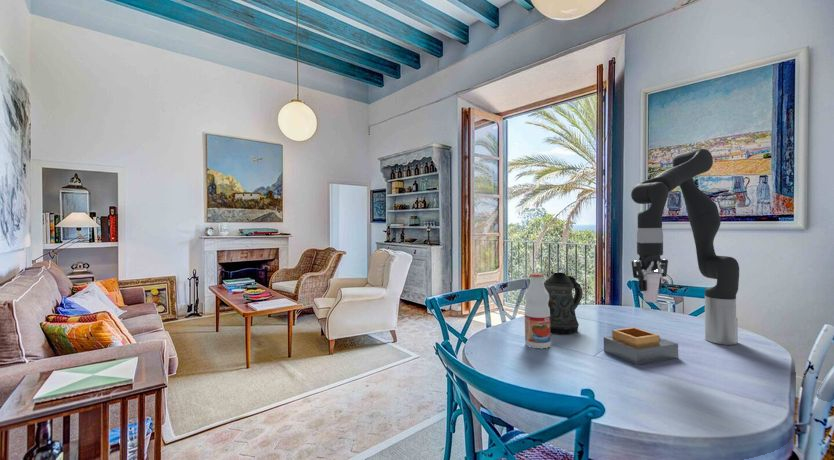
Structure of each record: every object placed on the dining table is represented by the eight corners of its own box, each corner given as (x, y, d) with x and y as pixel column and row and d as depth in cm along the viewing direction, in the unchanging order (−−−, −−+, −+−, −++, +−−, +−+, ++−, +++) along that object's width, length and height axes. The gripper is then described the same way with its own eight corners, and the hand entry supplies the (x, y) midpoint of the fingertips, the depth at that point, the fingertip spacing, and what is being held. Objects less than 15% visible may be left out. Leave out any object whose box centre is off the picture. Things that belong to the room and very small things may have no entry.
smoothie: (665, 303, 117) (664, 261, 116) (644, 303, 118) (643, 261, 118) (656, 299, 123) (655, 259, 123) (636, 299, 124) (635, 259, 124)
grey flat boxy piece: (648, 343, 135) (647, 323, 135) (684, 356, 121) (684, 334, 121) (603, 350, 129) (603, 329, 129) (637, 365, 116) (636, 340, 116)
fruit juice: (538, 339, 142) (537, 271, 142) (556, 347, 134) (554, 274, 133) (520, 343, 139) (518, 273, 138) (536, 351, 130) (535, 276, 130)
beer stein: (531, 329, 156) (530, 273, 156) (552, 320, 169) (551, 269, 169) (568, 337, 144) (567, 277, 144) (587, 327, 157) (586, 272, 157)
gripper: (655, 240, 126) (655, 286, 126) (624, 241, 122) (624, 289, 122) (676, 241, 119) (676, 290, 119) (643, 242, 114) (644, 293, 115)
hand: (650, 289), depth 120 cm, fingers closed on smoothie, 6 cm apart
